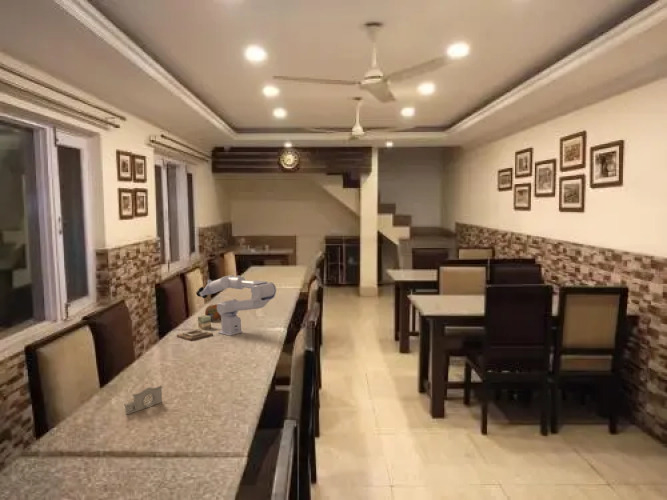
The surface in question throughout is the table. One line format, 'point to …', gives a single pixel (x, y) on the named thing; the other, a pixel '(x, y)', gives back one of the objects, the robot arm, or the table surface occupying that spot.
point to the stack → (204, 322)
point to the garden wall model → (140, 397)
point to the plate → (194, 335)
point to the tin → (212, 312)
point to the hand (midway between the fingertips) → (202, 290)
